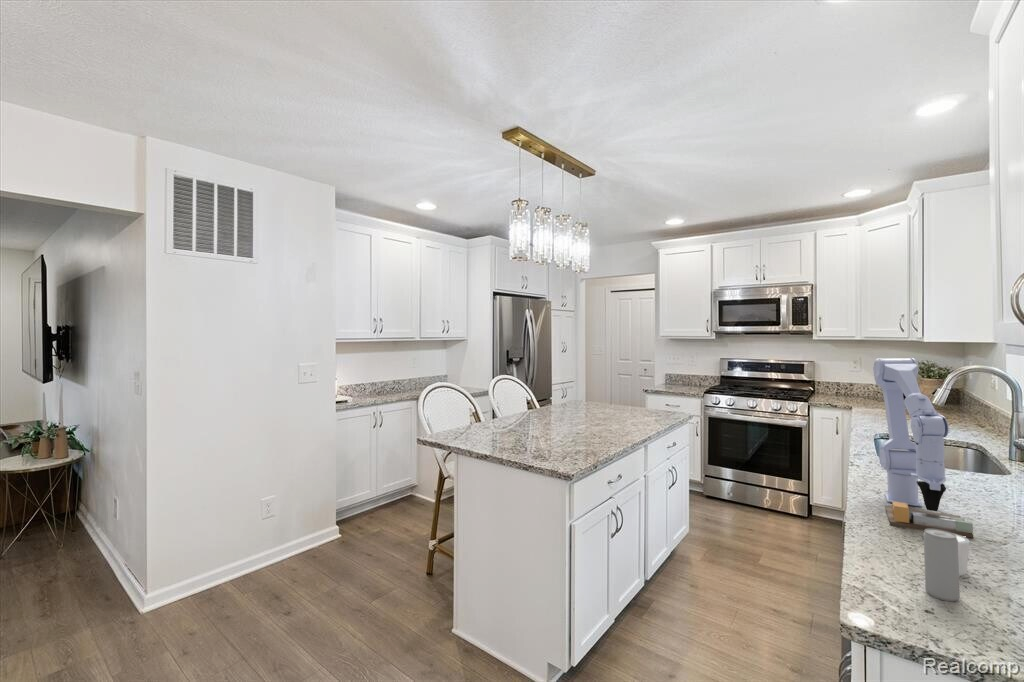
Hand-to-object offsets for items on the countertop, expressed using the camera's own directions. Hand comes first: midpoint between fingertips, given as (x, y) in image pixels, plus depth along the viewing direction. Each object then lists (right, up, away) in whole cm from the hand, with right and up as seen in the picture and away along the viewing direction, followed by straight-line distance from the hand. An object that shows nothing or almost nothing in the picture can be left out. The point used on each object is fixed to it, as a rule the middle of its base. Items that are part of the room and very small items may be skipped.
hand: (931, 510), depth 124 cm
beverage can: (-31, -3, -36) cm, 48 cm away
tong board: (-2, -3, 0) cm, 4 cm away
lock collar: (-9, -2, -1) cm, 9 cm away
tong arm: (-2, -2, -4) cm, 5 cm away
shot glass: (-20, -3, -26) cm, 33 cm away
